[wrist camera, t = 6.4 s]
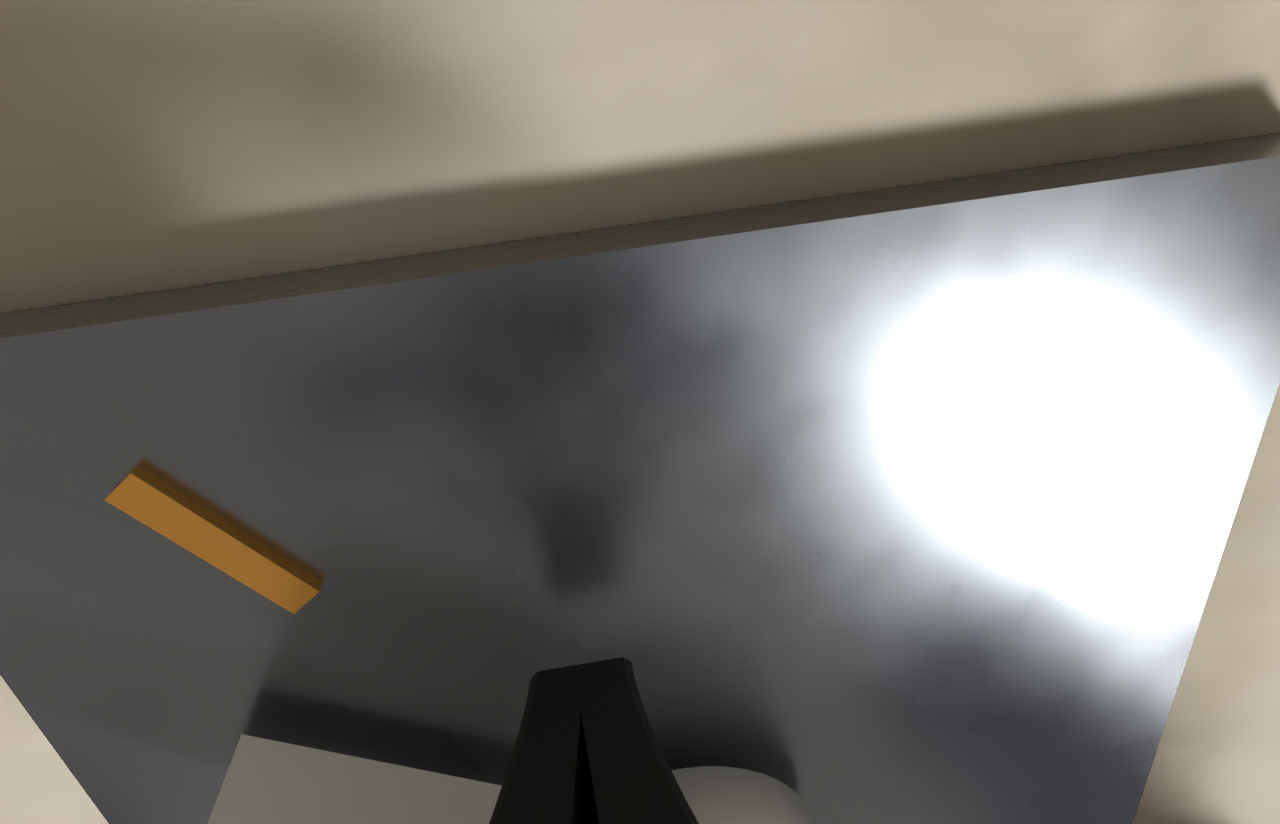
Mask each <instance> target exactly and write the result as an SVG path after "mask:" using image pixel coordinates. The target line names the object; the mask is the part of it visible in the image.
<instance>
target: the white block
mask: <svg viewBox="0 0 1280 824" xmlns="http://www.w3.org/2000/svg"><path fill="white" fill-rule="evenodd" d="M671 771H672V773H673V775H674V777H675V779H676V781H677V783H678V785H679V787H680V789H681V791H682V793H683V795H684V797H685V799H686V801H687V803H688V804H689V806H690V808H691V810H692V812H693V814H694V816H695V817H696V819H697V821H698V823H699V824H813V821H812V818H811V815H810V812H809V810H808V808H807V806H806V804H805V802H804V801H803V800H802V799H801V797H800V796H799V795H798V794H797V793H796V792H795V791H793V790H792V789H791V788H790V787H789V786H787V785H785V784H784V783H782V782H781V781H779V780H777V779H775V778H772V777H770V776H768V775H765V774H762V773H759V772H755V771H752V770H747V769H741V768H735V767H722V766H700V767H691V768H681V769H676V770H671ZM501 787H502V786H501V785H496V784H491V783H486V782H481V781H476V780H471V779H466V778H461V777H455V776H450V775H445V774H440V773H435V772H430V771H425V770H420V769H415V768H410V767H405V766H400V765H395V764H390V763H385V762H380V761H375V760H369V759H364V758H359V757H354V756H349V755H344V754H339V753H334V752H329V751H324V750H319V749H314V748H309V747H304V746H299V745H294V744H289V743H283V742H278V741H273V740H268V739H263V738H258V737H253V736H248V735H243V734H241V737H240V740H239V742H238V745H237V748H236V750H235V753H234V755H233V758H232V761H231V763H230V766H229V769H228V771H227V774H226V776H225V779H224V782H223V784H222V787H221V790H220V792H219V795H218V797H217V800H216V803H215V805H214V808H213V811H212V813H211V816H210V818H209V821H208V824H489V822H490V819H491V817H492V814H493V811H494V808H495V805H496V802H497V799H498V796H499V793H500V790H501Z"/></svg>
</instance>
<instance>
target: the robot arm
mask: <svg viewBox="0 0 1280 824" xmlns="http://www.w3.org/2000/svg"><path fill="white" fill-rule="evenodd" d="M489 824H699V823H698V821H697V819H696V817H695V816H694V814H693V812H692V810H691V808H690V806H689V804H688V803H687V801H686V799H685V797H684V795H683V793H682V791H681V789H680V787H679V785H678V783H677V781H676V779H675V777H674V775H673V773H672V771H671V769H670V767H669V765H668V763H667V761H666V759H665V757H664V754H663V752H662V750H661V748H660V746H659V743H658V741H657V739H656V736H655V734H654V732H653V729H652V727H651V724H650V722H649V719H648V717H647V714H646V712H645V709H644V706H643V703H642V700H641V697H640V694H639V691H638V688H637V684H636V680H635V677H634V672H633V666H632V662H631V661H629V660H628V659H626V658H624V657H620V658H614V659H608V660H602V661H596V662H590V663H585V664H579V665H573V666H567V667H561V668H555V669H549V670H543V671H538V672H536V673H535V675H534V676H533V677H532V678H531V679H530V685H529V691H528V696H527V701H526V705H525V709H524V714H523V718H522V722H521V726H520V729H519V733H518V737H517V740H516V743H515V747H514V750H513V753H512V757H511V760H510V764H509V767H508V770H507V773H506V776H505V779H504V781H503V784H502V787H501V790H500V793H499V796H498V799H497V802H496V805H495V808H494V811H493V814H492V817H491V819H490V822H489Z"/></svg>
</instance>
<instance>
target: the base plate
mask: <svg viewBox="0 0 1280 824" xmlns="http://www.w3.org/2000/svg"><path fill="white" fill-rule="evenodd" d="M1279 383H1280V134H1273V135H1266V136H1258V137H1251V138H1244V139H1237V140H1230V141H1223V142H1216V143H1209V144H1202V145H1195V146H1187V147H1180V148H1173V149H1166V150H1159V151H1152V152H1145V153H1138V154H1131V155H1124V156H1117V157H1109V158H1102V159H1095V160H1088V161H1081V162H1074V163H1067V164H1060V165H1053V166H1046V167H1039V168H1031V169H1024V170H1017V171H1010V172H1003V173H996V174H989V175H982V176H975V177H968V178H960V179H953V180H946V181H939V182H932V183H925V184H918V185H911V186H904V187H897V188H890V189H882V190H875V191H868V192H861V193H854V194H847V195H840V196H833V197H826V198H819V199H812V200H804V201H797V202H790V203H783V204H776V205H769V206H762V207H755V208H748V209H741V210H733V211H726V212H719V213H712V214H705V215H698V216H691V217H684V218H677V219H670V220H663V221H655V222H648V223H641V224H634V225H627V226H620V227H613V228H606V229H599V230H592V231H585V232H577V233H570V234H563V235H556V236H549V237H542V238H535V239H528V240H521V241H514V242H506V243H499V244H492V245H485V246H478V247H471V248H464V249H457V250H450V251H443V252H436V253H428V254H421V255H414V256H407V257H400V258H393V259H386V260H379V261H372V262H365V263H358V264H350V265H343V266H336V267H329V268H322V269H315V270H308V271H301V272H294V273H287V274H279V275H272V276H265V277H258V278H251V279H244V280H237V281H230V282H223V283H216V284H209V285H201V286H194V287H187V288H180V289H173V290H166V291H159V292H152V293H145V294H138V295H131V296H123V297H116V298H109V299H102V300H95V301H88V302H81V303H74V304H67V305H60V306H52V307H45V308H38V309H31V310H24V311H17V312H10V313H3V314H0V675H1V676H2V678H3V679H4V680H5V682H6V683H7V685H8V686H9V687H10V689H11V690H12V691H13V693H14V694H15V696H16V697H17V698H18V700H19V701H20V702H21V704H22V705H23V707H24V708H25V709H26V711H27V712H28V713H29V715H30V716H31V717H32V719H33V720H34V722H35V723H36V724H37V726H38V727H39V728H40V730H41V731H42V733H43V734H44V735H45V737H46V738H47V739H48V741H49V742H50V744H51V745H52V746H53V748H54V749H55V750H56V752H57V753H58V754H59V756H60V757H61V759H62V760H63V761H64V763H65V764H66V765H67V767H68V768H69V770H70V771H71V772H72V774H73V775H74V776H75V778H76V779H77V781H78V782H79V783H80V785H81V786H82V787H83V789H84V790H85V791H86V793H87V794H88V796H89V797H90V798H91V800H92V801H93V802H94V804H95V805H96V807H97V808H98V809H99V811H100V812H101V813H102V815H103V816H104V817H105V819H106V820H107V822H108V823H109V824H208V821H209V818H210V816H211V813H212V811H213V808H214V805H215V803H216V800H217V797H218V795H219V792H220V790H221V787H222V784H223V782H224V779H225V776H226V774H227V771H228V769H229V766H230V763H231V761H232V758H233V755H234V753H235V750H236V748H237V745H238V742H239V740H240V737H241V734H243V735H248V736H253V737H258V738H263V739H268V740H273V741H278V742H283V743H289V744H294V745H299V746H304V747H309V748H314V749H319V750H324V751H329V752H334V753H339V754H344V755H349V756H354V757H359V758H364V759H369V760H375V761H380V762H385V763H390V764H395V765H400V766H405V767H410V768H415V769H420V770H425V771H430V772H435V773H440V774H445V775H450V776H455V777H461V778H466V779H471V780H476V781H481V782H486V783H491V784H496V785H501V786H502V784H503V781H504V779H505V776H506V773H507V770H508V767H509V764H510V760H511V757H512V753H513V750H514V747H515V743H516V740H517V737H518V733H519V729H520V726H521V722H522V718H523V714H524V709H525V705H526V701H527V696H528V691H529V685H530V679H531V678H532V677H533V676H534V675H535V673H536V672H538V671H543V670H549V669H555V668H561V667H567V666H573V665H579V664H585V663H590V662H596V661H602V660H608V659H614V658H620V657H624V658H626V659H628V660H629V661H631V662H632V666H633V672H634V677H635V680H636V684H637V688H638V691H639V694H640V697H641V700H642V703H643V706H644V709H645V712H646V714H647V717H648V719H649V722H650V724H651V727H652V729H653V732H654V734H655V736H656V739H657V741H658V743H659V746H660V748H661V750H662V752H663V754H664V757H665V759H666V761H667V763H668V765H669V767H670V769H671V770H676V769H681V768H691V767H700V766H722V767H735V768H741V769H747V770H752V771H755V772H759V773H762V774H765V775H768V776H770V777H772V778H775V779H777V780H779V781H781V782H782V783H784V784H785V785H787V786H789V787H790V788H791V789H792V790H793V791H795V792H796V793H797V794H798V795H799V796H800V797H801V799H802V800H803V801H804V802H805V804H806V806H807V808H808V810H809V812H810V815H811V818H812V821H813V824H1132V822H1133V820H1134V817H1135V814H1136V811H1137V808H1138V805H1139V802H1140V799H1141V796H1142V793H1143V790H1144V787H1145V784H1146V781H1147V778H1148V775H1149V772H1150V769H1151V766H1152V763H1153V760H1154V757H1155V754H1156V751H1157V748H1158V745H1159V742H1160V739H1161V736H1162V733H1163V730H1164V727H1165V724H1166V721H1167V718H1168V715H1169V712H1170V709H1171V706H1172V703H1173V700H1174V697H1175V694H1176V691H1177V688H1178V685H1179V682H1180V679H1181V676H1182V673H1183V670H1184V667H1185V664H1186V661H1187V658H1188V655H1189V652H1190V649H1191V646H1192V643H1193V640H1194V637H1195V634H1196V631H1197V628H1198V625H1199V622H1200V619H1201V616H1202V613H1203V610H1204V607H1205V604H1206V601H1207V598H1208V595H1209V592H1210V589H1211V586H1212V583H1213V580H1214V577H1215V574H1216V571H1217V568H1218V565H1219V562H1220V559H1221V556H1222V553H1223V550H1224V547H1225V544H1226V541H1227V538H1228V535H1229V532H1230V529H1231V526H1232V523H1233V520H1234V517H1235V514H1236V511H1237V508H1238V505H1239V502H1240V499H1241V496H1242V493H1243V490H1244V487H1245V484H1246V481H1247V478H1248V475H1249V472H1250V469H1251V466H1252V463H1253V460H1254V457H1255V454H1256V451H1257V448H1258V445H1259V442H1260V439H1261V436H1262V433H1263V430H1264V427H1265V424H1266V421H1267V418H1268V415H1269V412H1270V409H1271V406H1272V403H1273V400H1274V397H1275V394H1276V391H1277V388H1278V385H1279Z"/></svg>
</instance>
